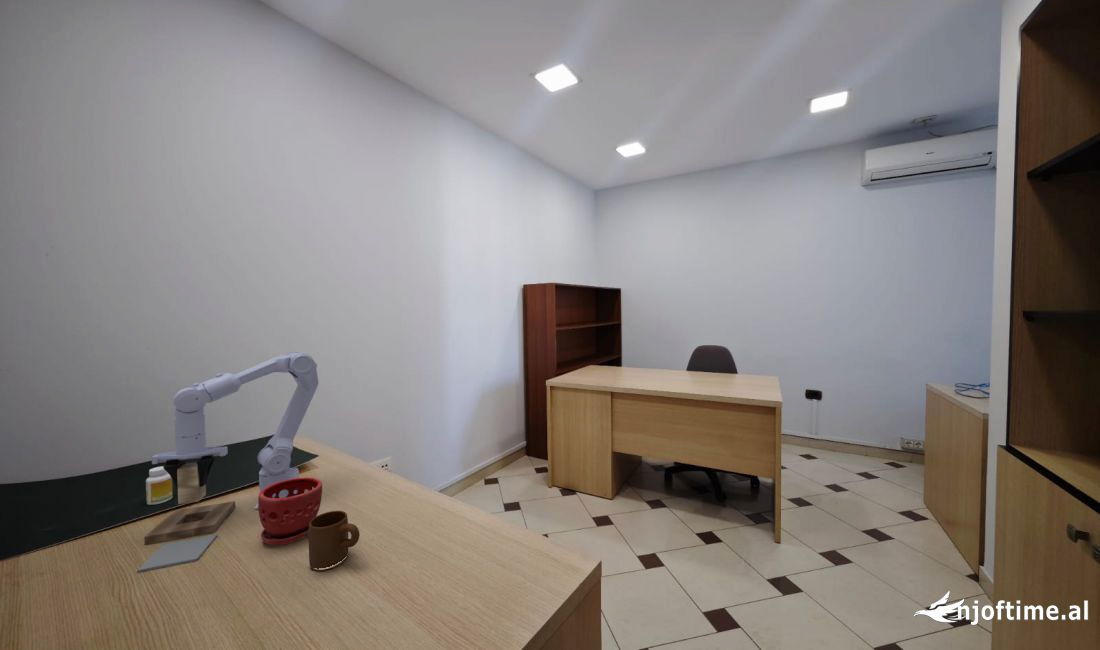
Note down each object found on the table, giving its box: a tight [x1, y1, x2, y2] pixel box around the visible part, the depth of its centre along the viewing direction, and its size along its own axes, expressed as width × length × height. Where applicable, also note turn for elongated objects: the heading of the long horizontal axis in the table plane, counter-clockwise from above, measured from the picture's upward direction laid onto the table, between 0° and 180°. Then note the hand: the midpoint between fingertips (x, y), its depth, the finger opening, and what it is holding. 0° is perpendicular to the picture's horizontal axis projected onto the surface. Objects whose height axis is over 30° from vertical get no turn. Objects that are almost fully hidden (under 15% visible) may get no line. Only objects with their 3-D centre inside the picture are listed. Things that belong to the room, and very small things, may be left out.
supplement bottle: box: [145, 465, 174, 506], centre depth 111 cm, size 5×5×10 cm
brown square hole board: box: [143, 500, 236, 546], centre depth 98 cm, size 13×13×2 cm
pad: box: [136, 534, 218, 573], centre depth 86 cm, size 10×10×1 cm
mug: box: [307, 510, 360, 569], centre depth 83 cm, size 12×8×9 cm, turn 73°
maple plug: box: [177, 461, 207, 505], centre depth 97 cm, size 4×4×9 cm
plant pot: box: [257, 477, 323, 546], centre depth 94 cm, size 13×13×12 cm
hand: (192, 486), depth 97 cm, fingers closed on maple plug, 4 cm apart
